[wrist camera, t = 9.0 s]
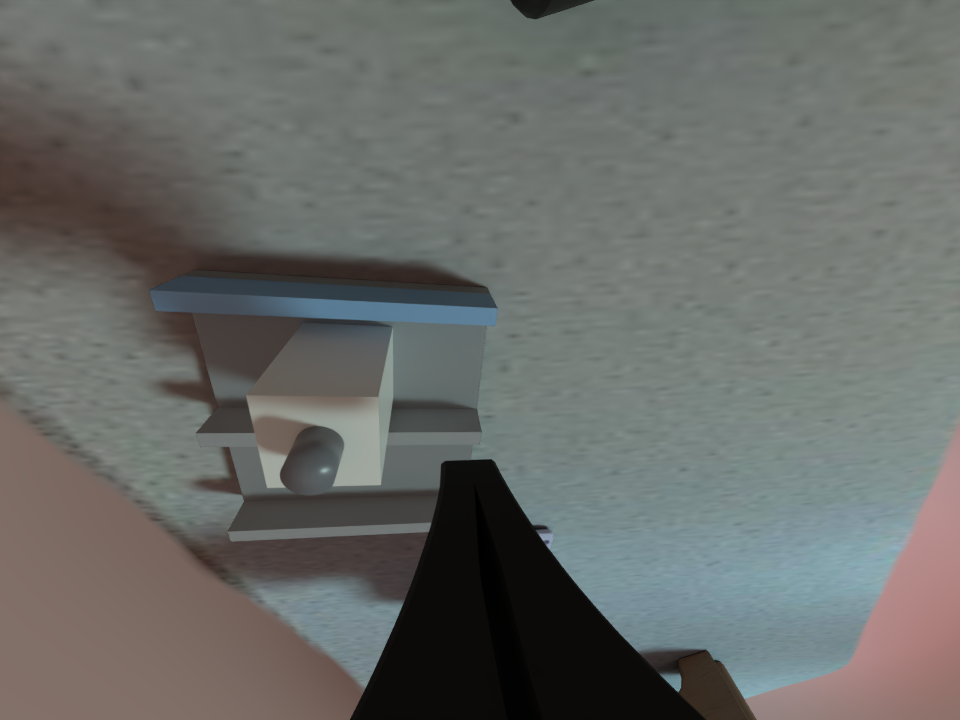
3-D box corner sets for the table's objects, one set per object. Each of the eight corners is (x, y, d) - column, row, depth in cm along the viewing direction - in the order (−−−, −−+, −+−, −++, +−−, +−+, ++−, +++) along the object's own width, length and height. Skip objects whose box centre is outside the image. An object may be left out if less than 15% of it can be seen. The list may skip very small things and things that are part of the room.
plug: (393, 397, 19) (376, 518, 12) (312, 396, 18) (249, 523, 12) (392, 326, 17) (372, 425, 11) (302, 322, 17) (222, 425, 10)
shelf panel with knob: (464, 490, 24) (469, 530, 22) (253, 497, 22) (231, 541, 20) (487, 287, 18) (497, 308, 15) (194, 269, 16) (148, 290, 13)
